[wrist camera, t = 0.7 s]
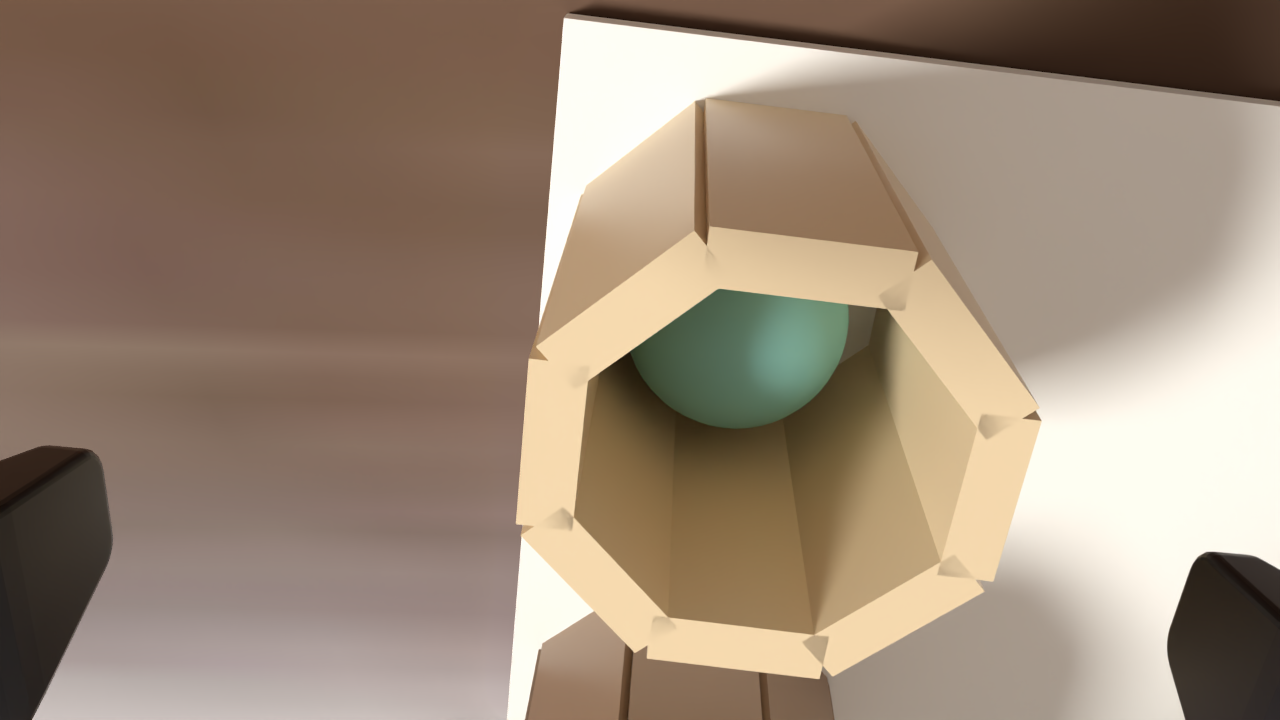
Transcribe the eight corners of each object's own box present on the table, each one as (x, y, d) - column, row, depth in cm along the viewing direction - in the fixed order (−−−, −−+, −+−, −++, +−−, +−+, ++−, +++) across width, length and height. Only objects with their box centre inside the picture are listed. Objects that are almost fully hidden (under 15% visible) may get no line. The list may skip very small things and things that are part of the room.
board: (1327, 934, 30) (1530, 1288, 23) (499, 835, 30) (435, 1160, 22) (1751, 160, 21) (2312, 335, 14) (567, 13, 21) (497, 111, 13)
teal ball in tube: (815, 380, 23) (837, 483, 19) (620, 356, 23) (606, 455, 19) (853, 191, 21) (885, 265, 18) (642, 165, 21) (631, 234, 18)
